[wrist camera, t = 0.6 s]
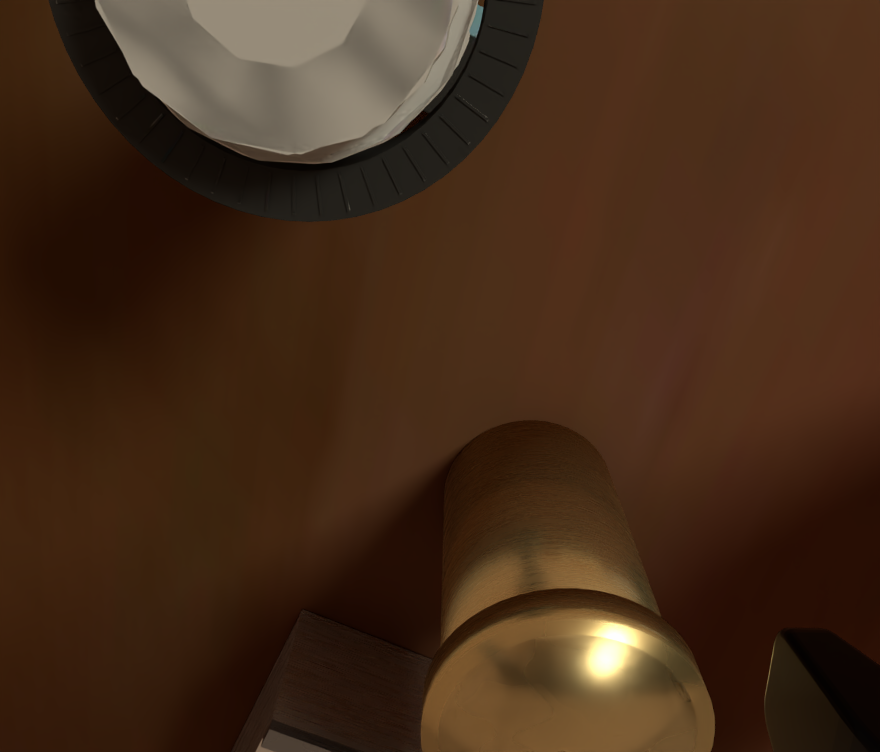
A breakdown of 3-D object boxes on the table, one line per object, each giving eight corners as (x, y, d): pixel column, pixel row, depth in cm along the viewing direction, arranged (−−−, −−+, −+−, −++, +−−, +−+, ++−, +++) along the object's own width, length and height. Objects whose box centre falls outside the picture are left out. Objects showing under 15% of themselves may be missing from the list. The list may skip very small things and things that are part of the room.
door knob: (659, 456, 21) (774, 686, 13) (565, 600, 22) (620, 873, 15) (484, 378, 20) (502, 575, 13) (402, 533, 22) (374, 785, 14)
